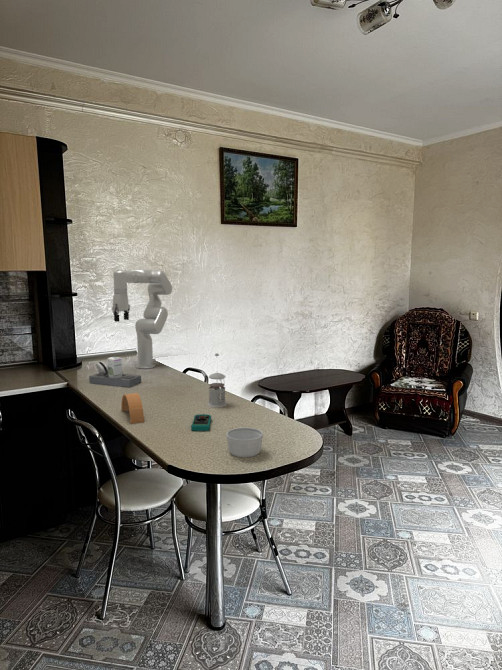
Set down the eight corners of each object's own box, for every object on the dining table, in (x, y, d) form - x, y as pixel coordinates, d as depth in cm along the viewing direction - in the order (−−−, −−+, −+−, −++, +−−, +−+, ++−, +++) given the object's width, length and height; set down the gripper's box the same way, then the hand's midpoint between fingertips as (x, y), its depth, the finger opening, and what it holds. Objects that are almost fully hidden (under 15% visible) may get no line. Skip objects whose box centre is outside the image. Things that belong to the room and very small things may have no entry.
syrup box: (122, 382, 265) (122, 357, 263) (113, 384, 261) (112, 359, 259) (117, 381, 269) (116, 356, 267) (108, 382, 264) (107, 357, 262)
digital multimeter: (211, 420, 204) (211, 413, 203) (209, 432, 189) (209, 425, 189) (194, 420, 204) (194, 413, 203) (190, 432, 189) (190, 425, 188)
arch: (130, 424, 197) (129, 401, 195) (121, 410, 215) (120, 389, 213) (144, 422, 199) (143, 399, 198) (134, 409, 217) (133, 388, 216)
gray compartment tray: (102, 378, 275) (102, 371, 274) (141, 382, 266) (141, 375, 266) (89, 383, 263) (89, 376, 263) (129, 387, 255) (129, 380, 254)
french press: (203, 405, 223) (203, 354, 219) (213, 399, 233) (213, 350, 230) (222, 408, 219) (222, 355, 216) (231, 401, 230) (231, 351, 226)
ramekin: (220, 455, 165) (220, 436, 164) (234, 442, 177) (234, 425, 176) (255, 461, 160) (255, 442, 159) (267, 447, 172) (268, 429, 171)
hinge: (115, 378, 276) (108, 363, 273) (107, 381, 274) (101, 366, 271) (107, 372, 290) (101, 358, 287) (100, 375, 288) (93, 361, 285)
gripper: (123, 290, 286) (124, 318, 288) (106, 292, 269) (107, 322, 272) (134, 291, 283) (135, 319, 286) (117, 292, 267) (118, 322, 270)
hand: (121, 320), depth 279 cm, fingers open, 9 cm apart
